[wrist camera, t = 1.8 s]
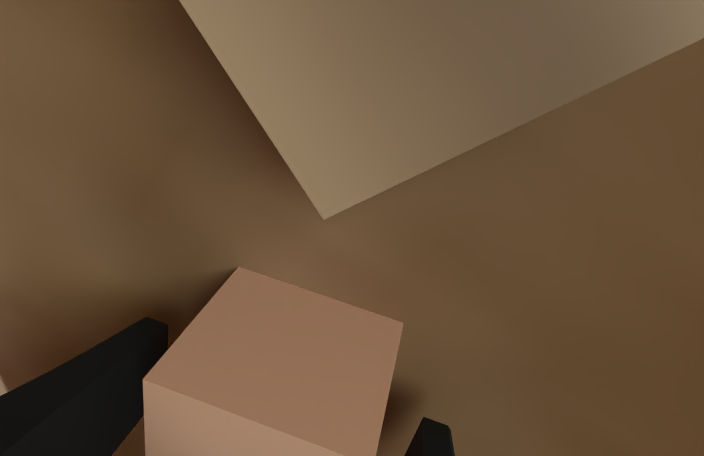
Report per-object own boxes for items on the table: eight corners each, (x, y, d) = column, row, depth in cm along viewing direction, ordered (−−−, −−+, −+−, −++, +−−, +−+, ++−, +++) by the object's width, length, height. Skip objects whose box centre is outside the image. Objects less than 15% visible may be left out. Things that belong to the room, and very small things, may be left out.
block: (363, 427, 13) (325, 576, 10) (227, 377, 14) (147, 503, 10) (404, 320, 11) (373, 466, 8) (240, 264, 12) (142, 379, 8)
